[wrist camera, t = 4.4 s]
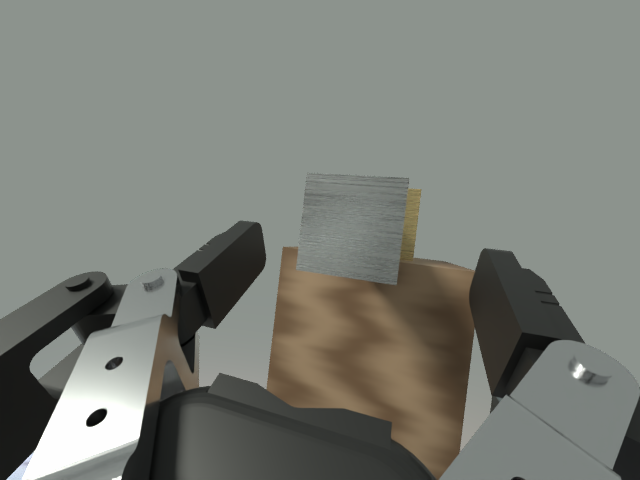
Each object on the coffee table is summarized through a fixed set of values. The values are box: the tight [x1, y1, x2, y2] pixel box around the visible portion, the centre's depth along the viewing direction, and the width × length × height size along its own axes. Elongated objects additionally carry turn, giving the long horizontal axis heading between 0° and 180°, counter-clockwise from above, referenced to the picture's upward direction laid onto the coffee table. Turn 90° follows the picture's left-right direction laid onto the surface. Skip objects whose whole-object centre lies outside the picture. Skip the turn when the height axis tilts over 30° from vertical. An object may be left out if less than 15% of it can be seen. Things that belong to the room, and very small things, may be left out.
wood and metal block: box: [296, 173, 421, 285], centre depth 19 cm, size 6×23×6 cm, turn 165°
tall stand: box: [267, 247, 475, 480], centre depth 26 cm, size 14×13×32 cm
